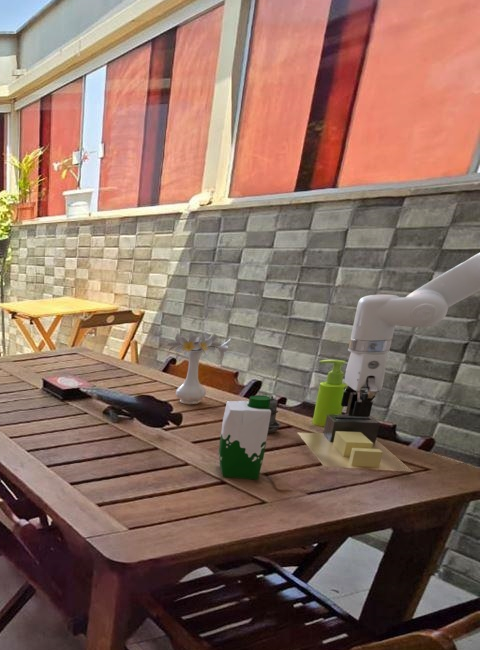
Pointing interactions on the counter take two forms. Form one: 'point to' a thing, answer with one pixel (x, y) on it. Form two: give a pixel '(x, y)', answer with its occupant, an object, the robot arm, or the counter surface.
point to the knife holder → (351, 427)
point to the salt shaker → (273, 416)
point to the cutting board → (334, 459)
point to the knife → (351, 408)
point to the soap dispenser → (330, 394)
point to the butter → (350, 442)
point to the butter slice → (365, 457)
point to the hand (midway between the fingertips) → (354, 410)
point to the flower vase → (195, 363)
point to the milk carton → (244, 437)
